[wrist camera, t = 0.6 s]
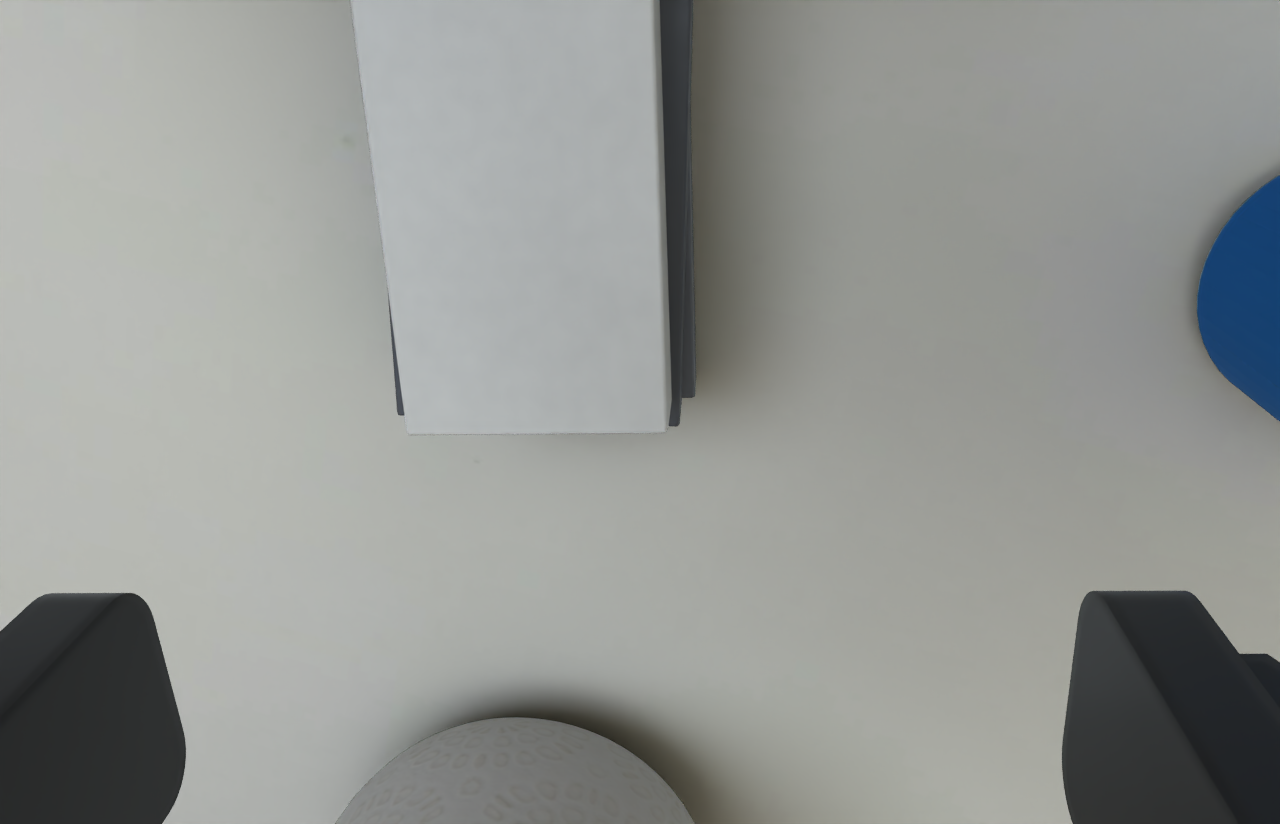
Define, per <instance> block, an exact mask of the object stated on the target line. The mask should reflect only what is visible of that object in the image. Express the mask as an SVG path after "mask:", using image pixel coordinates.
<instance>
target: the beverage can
mask: <svg viewBox="0 0 1280 824" xmlns="http://www.w3.org/2000/svg"><path fill="white" fill-rule="evenodd" d="M1197 317H1198V324H1199V330H1200V333H1201V336H1202V340H1203V343H1204V345H1205V348H1206V350H1207V352H1208V354H1209V356H1210V358H1211V359H1212V361H1213V362H1214V364H1215V365H1216V367H1217V368H1218V370H1219V371H1220V372H1221V373H1222V374H1223V375H1224V376H1225V377H1226V378H1227V379H1228V380H1229V381H1230V382H1231V383H1232V384H1234V385H1235V386H1236V387H1237V388H1239V389H1240V390H1241V391H1242V392H1244V393H1245V394H1246V395H1247V396H1249V397H1250V398H1251V399H1252V400H1254V401H1255V402H1256V403H1257V404H1259V405H1260V406H1261V407H1262V408H1264V409H1265V410H1266V411H1267V412H1269V413H1270V414H1271V415H1272V416H1274V417H1275V418H1276V419H1277V420H1279V421H1280V175H1278V176H1277V177H1275V178H1274V179H1272V180H1271V181H1269V182H1268V183H1266V184H1265V185H1264V186H1262V187H1261V188H1260V189H1259V190H1257V191H1256V192H1255V193H1254V194H1253V195H1252V196H1250V197H1249V198H1248V199H1247V200H1246V201H1245V202H1244V203H1243V204H1242V205H1241V206H1240V207H1239V208H1238V209H1237V210H1236V212H1235V213H1234V214H1233V215H1232V216H1231V218H1230V219H1229V220H1228V222H1227V223H1226V224H1225V226H1224V227H1223V228H1222V230H1221V231H1220V233H1219V235H1218V236H1217V238H1216V240H1215V241H1214V243H1213V245H1212V247H1211V249H1210V251H1209V254H1208V256H1207V258H1206V260H1205V263H1204V267H1203V270H1202V273H1201V277H1200V281H1199V287H1198V294H1197Z"/></svg>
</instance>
